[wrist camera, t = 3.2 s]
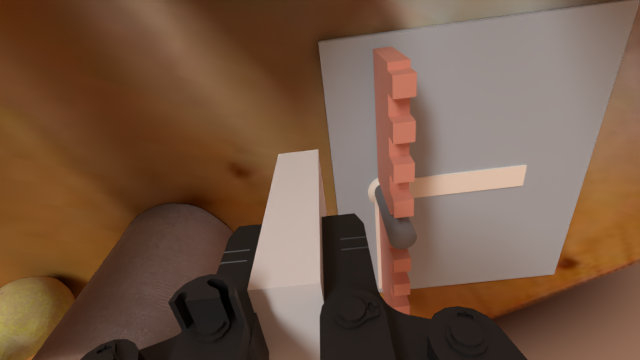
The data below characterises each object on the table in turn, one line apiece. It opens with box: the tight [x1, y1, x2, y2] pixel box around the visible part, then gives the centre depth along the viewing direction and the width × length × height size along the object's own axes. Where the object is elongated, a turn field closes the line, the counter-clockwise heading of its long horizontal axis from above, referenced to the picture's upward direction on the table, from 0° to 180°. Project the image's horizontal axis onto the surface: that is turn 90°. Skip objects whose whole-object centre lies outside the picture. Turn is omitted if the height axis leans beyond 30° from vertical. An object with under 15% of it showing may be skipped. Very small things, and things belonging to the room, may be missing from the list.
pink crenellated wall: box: [373, 46, 417, 218], centre depth 21 cm, size 1×10×6 cm, turn 7°
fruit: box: [0, 276, 75, 360], centre depth 27 cm, size 7×8×12 cm
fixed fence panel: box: [375, 185, 417, 315], centre depth 27 cm, size 2×12×6 cm, turn 7°
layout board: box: [318, 0, 640, 292], centre depth 27 cm, size 20×24×1 cm
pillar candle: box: [32, 203, 233, 360], centre depth 24 cm, size 10×10×15 cm
